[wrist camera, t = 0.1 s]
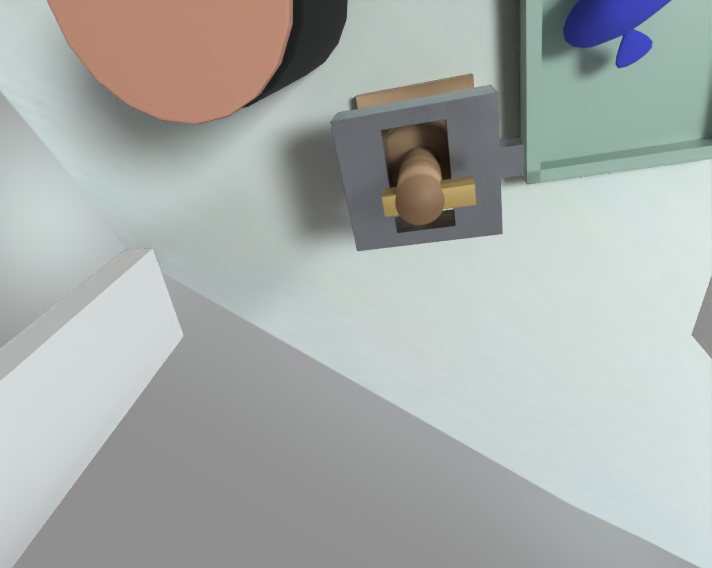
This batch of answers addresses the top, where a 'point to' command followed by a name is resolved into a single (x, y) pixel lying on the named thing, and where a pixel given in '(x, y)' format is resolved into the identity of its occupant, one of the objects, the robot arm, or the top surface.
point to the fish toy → (612, 26)
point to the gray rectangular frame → (466, 158)
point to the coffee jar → (199, 49)
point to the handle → (421, 157)
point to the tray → (614, 94)
